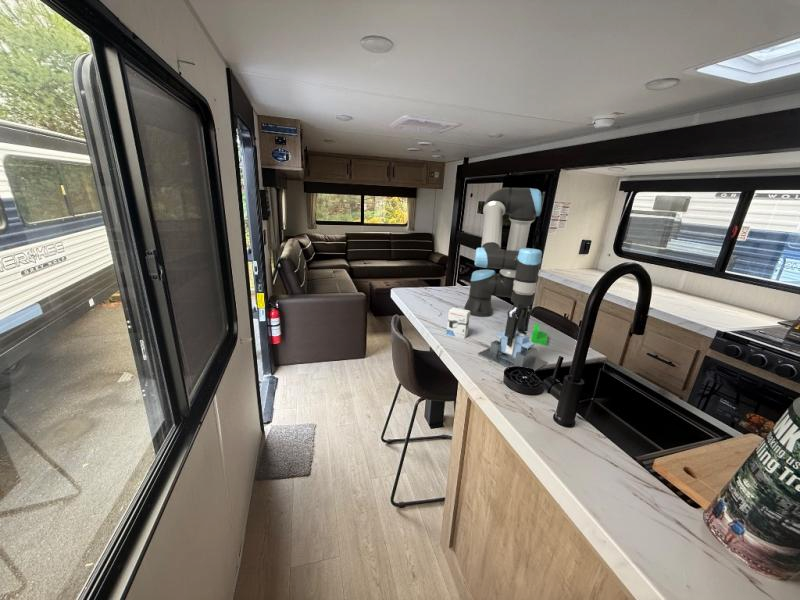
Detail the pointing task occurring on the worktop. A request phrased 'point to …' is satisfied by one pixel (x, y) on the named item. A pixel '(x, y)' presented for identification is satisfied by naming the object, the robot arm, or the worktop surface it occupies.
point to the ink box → (458, 322)
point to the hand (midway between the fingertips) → (513, 351)
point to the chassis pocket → (507, 360)
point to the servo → (520, 343)
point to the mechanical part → (538, 335)
